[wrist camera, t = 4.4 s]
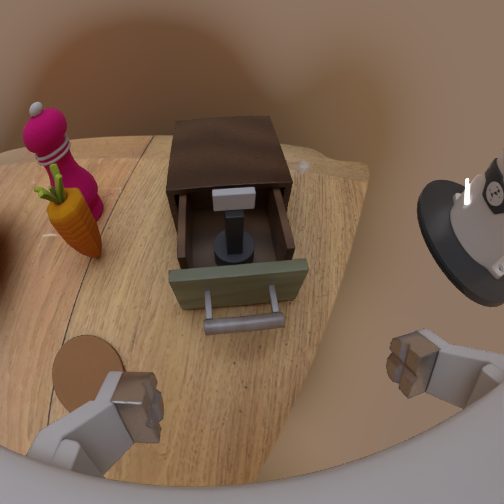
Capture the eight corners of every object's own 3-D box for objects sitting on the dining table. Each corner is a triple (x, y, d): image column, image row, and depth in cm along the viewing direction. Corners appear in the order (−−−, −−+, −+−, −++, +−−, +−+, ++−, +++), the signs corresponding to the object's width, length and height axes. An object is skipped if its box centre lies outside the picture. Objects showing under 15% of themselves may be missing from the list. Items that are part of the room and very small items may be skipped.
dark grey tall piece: (250, 239, 33) (256, 172, 24) (256, 271, 31) (263, 208, 22) (213, 242, 33) (206, 175, 24) (215, 275, 30) (208, 212, 22)
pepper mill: (83, 240, 34) (18, 125, 17) (59, 221, 36) (2, 119, 19) (115, 205, 38) (70, 87, 21) (89, 190, 39) (46, 86, 22)
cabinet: (282, 229, 37) (293, 182, 29) (178, 238, 35) (165, 190, 28) (264, 159, 44) (269, 115, 37) (181, 165, 43) (175, 121, 36)
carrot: (99, 278, 31) (40, 198, 19) (76, 262, 32) (20, 185, 20) (121, 249, 34) (76, 161, 21) (98, 235, 35) (53, 153, 22)
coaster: (126, 336, 28) (124, 334, 27) (129, 424, 22) (126, 424, 22) (57, 335, 27) (54, 333, 26) (55, 413, 21) (52, 413, 21)
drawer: (302, 335, 28) (319, 313, 22) (183, 347, 27) (168, 328, 21) (274, 206, 38) (280, 168, 32) (182, 213, 36) (174, 175, 30)
